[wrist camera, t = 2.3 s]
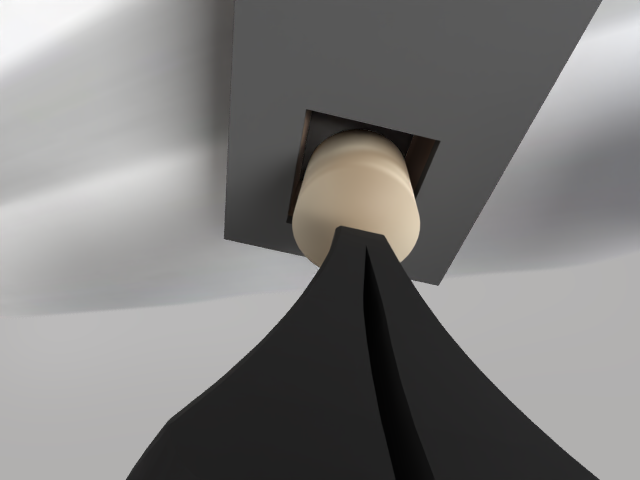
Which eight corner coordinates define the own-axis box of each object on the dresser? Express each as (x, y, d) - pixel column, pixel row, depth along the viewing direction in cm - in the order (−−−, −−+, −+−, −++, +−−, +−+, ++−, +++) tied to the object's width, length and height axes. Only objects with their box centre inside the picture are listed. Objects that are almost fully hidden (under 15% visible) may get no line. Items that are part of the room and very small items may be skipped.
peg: (423, 142, 13) (441, 188, 10) (388, 229, 15) (395, 287, 12) (316, 117, 13) (303, 157, 10) (298, 209, 15) (284, 263, 12)
